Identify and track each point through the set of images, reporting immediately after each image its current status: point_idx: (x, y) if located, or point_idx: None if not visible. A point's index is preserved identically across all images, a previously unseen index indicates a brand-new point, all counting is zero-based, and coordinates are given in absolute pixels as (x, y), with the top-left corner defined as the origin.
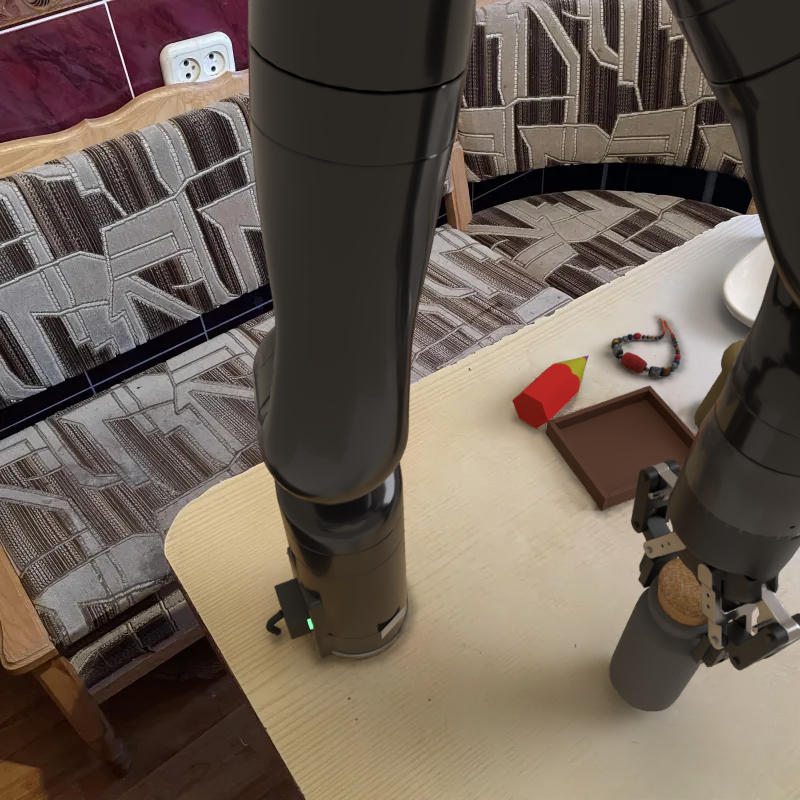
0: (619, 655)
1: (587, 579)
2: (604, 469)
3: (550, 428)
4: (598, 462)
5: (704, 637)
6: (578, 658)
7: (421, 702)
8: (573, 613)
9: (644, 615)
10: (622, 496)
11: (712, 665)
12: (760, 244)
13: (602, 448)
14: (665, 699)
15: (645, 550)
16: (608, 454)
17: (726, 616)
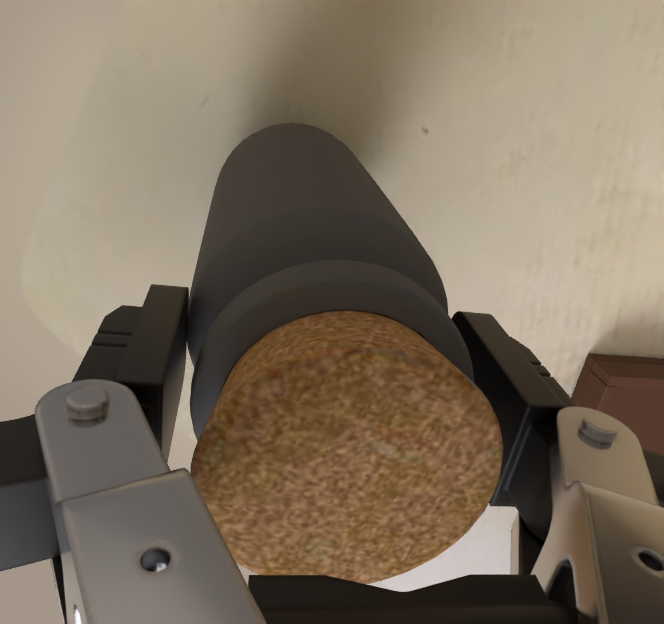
0: (346, 156)
1: (510, 245)
2: (642, 408)
3: None
4: (659, 408)
5: (155, 372)
6: (400, 117)
7: None
8: (477, 174)
9: (384, 248)
10: (587, 403)
11: (102, 323)
12: None
13: None
14: (214, 192)
15: (604, 418)
16: (656, 431)
17: (69, 585)
